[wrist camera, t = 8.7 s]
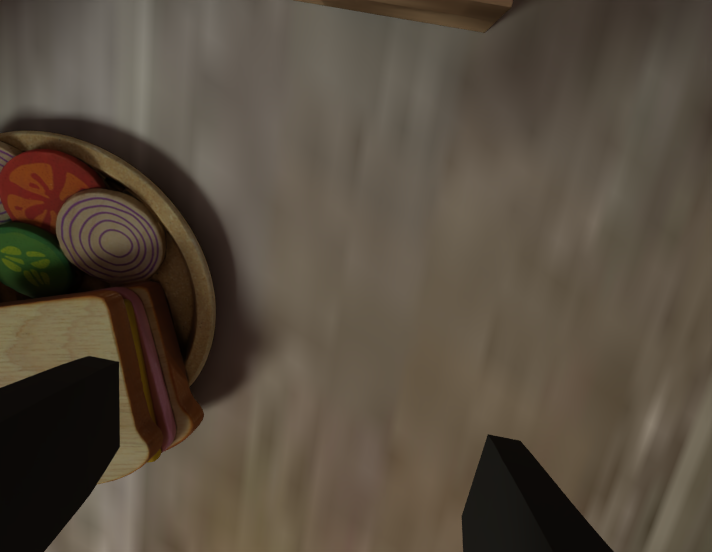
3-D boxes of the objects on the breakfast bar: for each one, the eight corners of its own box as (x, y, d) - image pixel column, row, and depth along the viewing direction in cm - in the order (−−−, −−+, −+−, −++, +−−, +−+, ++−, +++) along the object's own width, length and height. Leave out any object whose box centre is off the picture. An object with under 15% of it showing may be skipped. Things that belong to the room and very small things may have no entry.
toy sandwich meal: (202, 123, 17) (133, 127, 13) (244, 430, 22) (203, 513, 17) (-104, 134, 19) (-263, 142, 14) (-5, 423, 23) (-103, 498, 19)
